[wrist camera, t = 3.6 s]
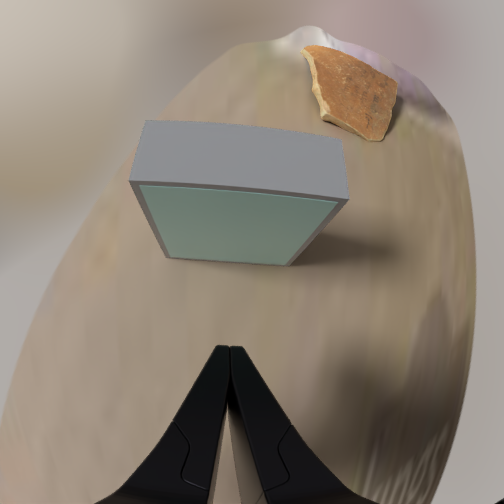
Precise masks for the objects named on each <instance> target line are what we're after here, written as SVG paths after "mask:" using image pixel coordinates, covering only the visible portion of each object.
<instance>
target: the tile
mask: <svg viewBox="0 0 504 504" xmlns="http://www.w3.org/2000/svg"><path fill="white" fill-rule="evenodd" d="M129 182H130V185H131V187H132V189H133V191H134V193H135V195H136V198H137V200H138V202H139V204H140V206H141V208H142V210H143V212H144V214H145V217H146V219H147V221H148V223H149V225H150V227H151V229H152V231H153V233H154V235H155V237H156V239H157V241H158V243H159V245H160V247H161V249H162V251H163V253H164V255H165V257H166V258H176V259H189V260H203V261H217V262H231V263H245V264H259V265H274V266H290V265H291V264H292V262H293V261H294V260H295V259H296V258H297V257H298V256H299V255H300V254H301V253H302V252H303V251H304V249H305V248H306V247H307V246H308V245H309V244H310V243H311V242H312V241H313V240H314V238H315V237H316V236H317V235H318V234H319V233H320V232H321V231H322V230H323V229H324V227H325V226H326V225H327V224H328V223H329V222H330V221H331V220H332V219H333V217H334V216H335V215H336V214H337V213H338V212H339V211H340V210H341V208H342V207H343V206H344V205H345V204H346V203H347V202H348V200H349V191H348V182H347V174H346V167H345V160H344V153H343V146H342V140H341V139H337V138H331V137H326V136H320V135H315V134H309V133H302V132H296V131H289V130H282V129H274V128H266V127H257V126H248V125H237V124H225V123H211V122H193V121H153V120H150V121H149V120H147V121H145V125H144V127H143V131H142V134H141V137H140V141H139V144H138V147H137V151H136V154H135V158H134V162H133V165H132V169H131V173H130V177H129Z"/></svg>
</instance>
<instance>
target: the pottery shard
mask: <svg viewBox="0 0 504 504" xmlns="http://www.w3.org/2000/svg"><path fill="white" fill-rule="evenodd" d="M301 54H302V55H303V56H304V57H305V58H306V59H307V60H308V63H309V65H310V70H311V74H312V78H313V87H312V92H313V93H314V95H315V96H316V98H317V100H318V103H319V106H320V116H321V119H322V120H324V121H331V122H332V123H333V124H336V125H338V126H339V127H341V128H342V129H344V130H347V131H349V132H352V133H354V134H356V135H358V136H360V137H361V138H363V139H365V140H367V141H368V142H380V141H381V140H382V139H383V138H384V135H385V133H386V131H387V129H388V126H389V123H390V120H391V117H392V107H393V106H394V105H395V101H396V93H397V85H398V83H397V82H396V81H395V80H393V79H392V78H390V77H388V76H386V75H385V74H383V73H381V72H379V71H377V70H376V69H374V68H372V67H371V66H370V65H368V64H366V63H364V62H362V61H360V60H358V59H357V58H355V57H353V56H350V55H348V54H346V53H343V52H341V51H338V50H334V49H331V48H327V47H323V46H317V45H312V46H306V47H305V48H304V49H303V50H302V51H301Z"/></svg>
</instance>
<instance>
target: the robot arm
mask: <svg viewBox="0 0 504 504" xmlns="http://www.w3.org/2000/svg"><path fill="white" fill-rule="evenodd" d="M227 409H228V419H229V426H230V433H231V440H232V447H233V454H234V461H235V467H236V473H237V480H238V486H239V492H240V498H241V504H379V503H376V502H374V501H371V500H369V499H366V498H364V497H361V496H359V495H357V494H356V493H354V492H352V491H351V490H350V489H348V488H347V487H346V486H345V485H344V484H343V483H342V482H341V481H340V480H339V479H338V478H337V477H336V476H335V475H334V474H333V473H332V472H331V471H330V470H329V469H328V468H327V467H326V466H325V465H324V464H323V463H322V461H321V460H320V459H319V458H318V457H317V456H316V455H315V454H314V453H313V451H312V450H311V449H310V448H309V447H308V446H307V444H306V443H305V441H304V440H303V439H302V437H301V436H300V435H299V433H298V432H297V430H296V429H295V427H294V426H293V425H291V424H292V423H291V422H290V420H289V419H288V417H287V415H286V414H285V412H284V411H283V409H282V408H281V406H280V405H279V403H278V402H277V400H276V399H275V397H274V395H273V394H272V392H271V391H270V389H269V388H268V386H267V384H266V383H265V381H264V380H263V378H262V377H261V375H260V373H259V372H258V370H257V369H256V367H255V365H254V364H253V362H252V360H251V359H250V357H249V356H248V354H247V352H246V351H245V349H244V348H243V347H242V346H230V348H229V346H227V345H217V346H216V347H215V348H214V350H213V352H212V353H211V355H210V357H209V359H208V360H207V362H206V364H205V366H204V367H203V369H202V371H201V372H200V374H199V376H198V378H197V379H196V381H195V383H194V384H193V386H192V388H191V390H190V391H189V393H188V395H187V396H186V398H185V400H184V401H183V403H182V405H181V407H180V408H179V410H178V412H177V413H176V415H175V417H174V418H173V421H172V422H171V423H170V425H169V427H168V428H167V430H166V431H165V433H164V434H163V436H162V438H161V439H160V441H159V442H158V443H157V445H156V446H155V447H154V449H153V450H152V451H151V453H150V454H149V455H148V456H147V457H146V459H145V460H144V461H143V462H142V463H141V465H140V466H139V467H138V468H137V469H136V470H135V472H134V473H133V474H132V475H131V476H130V477H129V478H128V480H127V481H126V482H125V483H124V484H123V485H122V486H121V487H120V488H119V489H118V490H116V491H115V492H114V493H112V494H111V495H109V496H108V497H106V498H104V499H102V500H100V501H98V502H96V503H95V504H213V499H214V492H215V486H216V479H217V472H218V466H219V459H220V452H221V446H222V439H223V433H224V426H225V420H226V412H227ZM495 504H504V498H503V499H502V500H500V501H498V502H497V503H495Z"/></svg>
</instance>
